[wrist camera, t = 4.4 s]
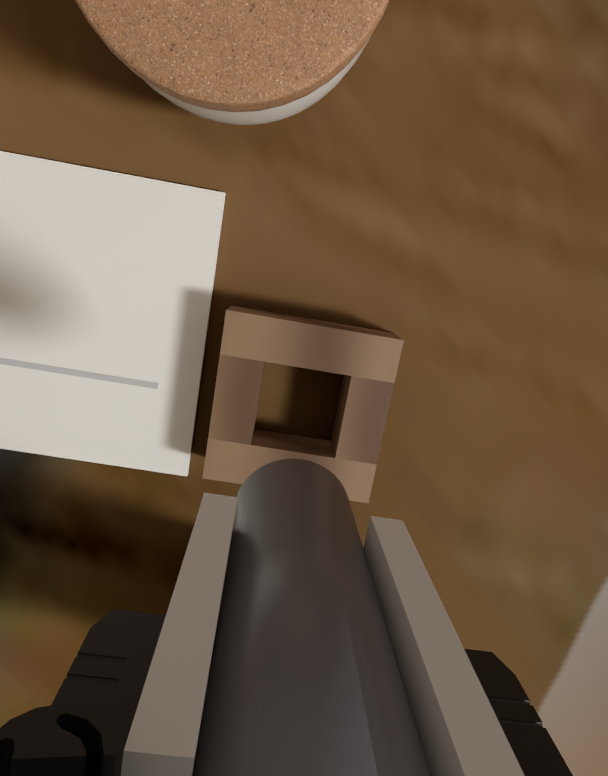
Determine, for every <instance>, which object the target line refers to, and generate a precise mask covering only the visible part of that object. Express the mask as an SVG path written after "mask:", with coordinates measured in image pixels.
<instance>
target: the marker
mask: <svg viewBox="0 0 608 776" xmlns="http://www.w3.org/2000/svg"><path fill="white" fill-rule="evenodd" d="M237 497H238V499H237V505H236V512H235V518H234V524H233V531H232V537H231V543H230V549H229V555H228V561H227V567H226V573H225V579H224V585H223V591H222V598H221V604H220V610H219V616H218V622H217V628H216V634H215V640H214V646H213V652H212V658H211V664H210V670H209V676H208V683H207V689H206V695H205V701H204V707H203V713H202V719H201V725H200V731H199V737H198V743H197V749H196V755H195V761H194V767H193V774H192V776H431V775H430V772H429V769H428V765H427V762H426V759H425V755H424V752H423V748H422V745H421V742H420V738H419V735H418V732H417V728H416V725H415V721H414V718H413V715H412V711H411V708H410V705H409V701H408V698H407V694H406V691H405V688H404V684H403V681H402V678H401V674H400V671H399V668H398V664H397V661H396V657H395V654H394V651H393V647H392V644H391V641H390V637H389V634H388V630H387V627H386V624H385V620H384V617H383V614H382V610H381V607H380V603H379V600H378V597H377V593H376V590H375V587H374V583H373V580H372V576H371V573H370V570H369V566H368V563H367V560H366V556H365V553H364V549H363V546H362V543H361V539H360V536H359V533H358V529H357V526H356V523H355V519H354V516H353V512H352V509H351V506H350V502H349V499H348V496H347V493H346V491H345V488H344V487H343V485H342V483H341V482H340V481H339V479H338V478H337V477H336V476H335V475H334V474H333V473H332V472H331V471H329V470H328V469H326V468H325V467H323V466H321V465H319V464H317V463H315V462H312V461H309V460H304V459H295V458H294V459H282V460H277V461H274V462H271V463H268V464H266V465H264V466H262V467H261V468H259V469H257V470H256V471H255V472H253V473H252V474H251V475H250V476H249V477H248V478H247V479H246V481H245V482H244V483H243V484H242V486H241V488H240V490H239V491H238V494H237Z"/></svg>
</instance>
